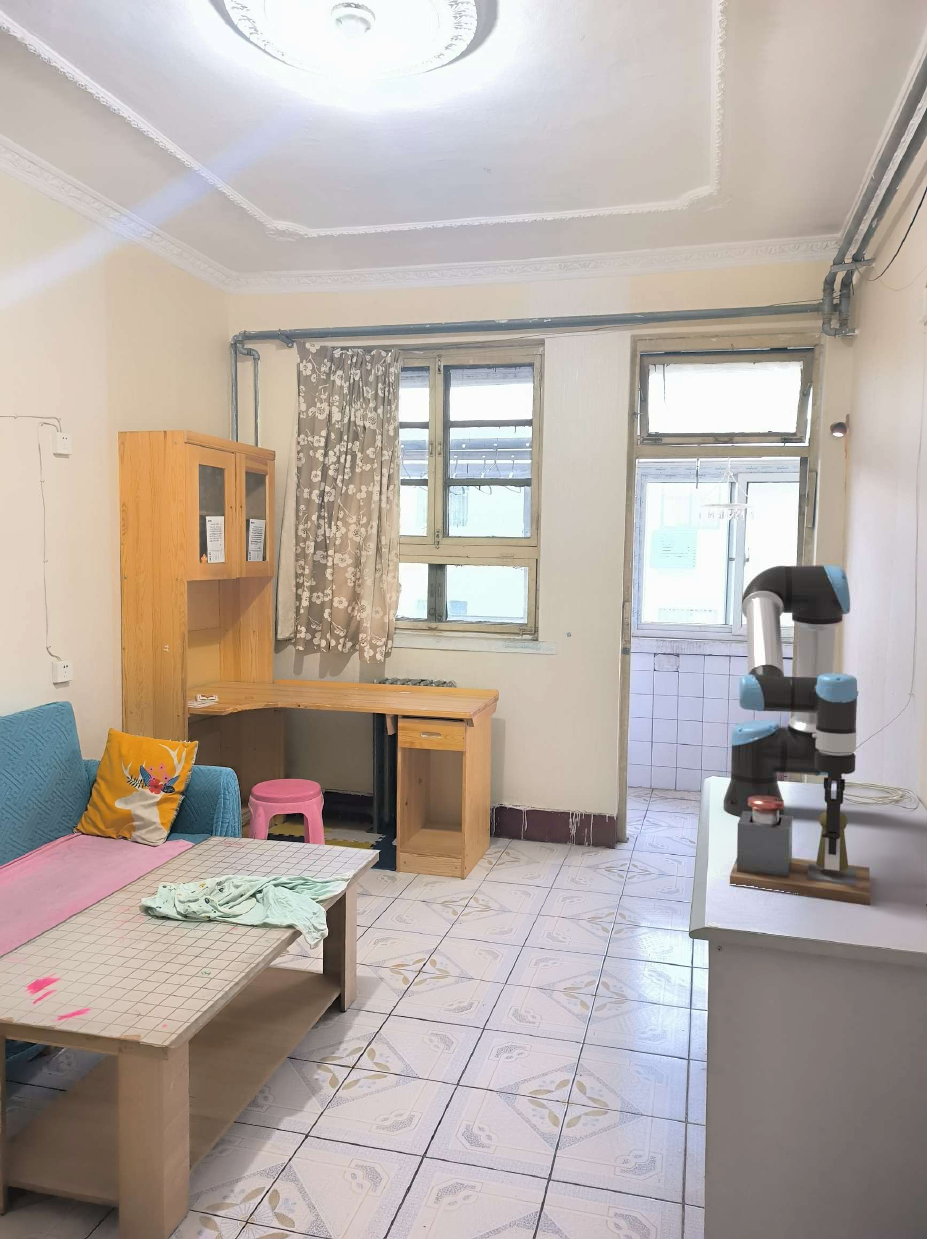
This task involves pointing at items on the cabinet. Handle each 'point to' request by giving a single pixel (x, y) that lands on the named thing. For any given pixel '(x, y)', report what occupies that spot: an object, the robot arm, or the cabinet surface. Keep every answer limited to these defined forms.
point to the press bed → (813, 881)
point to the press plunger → (765, 809)
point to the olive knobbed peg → (843, 853)
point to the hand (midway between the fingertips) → (832, 863)
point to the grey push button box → (764, 846)
